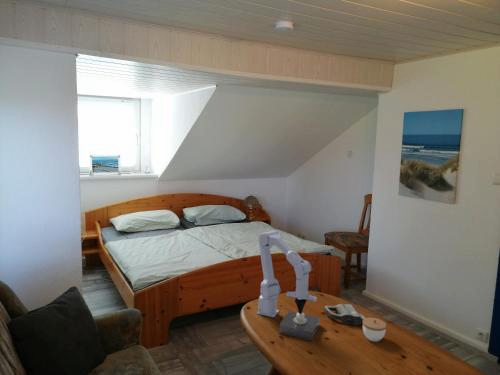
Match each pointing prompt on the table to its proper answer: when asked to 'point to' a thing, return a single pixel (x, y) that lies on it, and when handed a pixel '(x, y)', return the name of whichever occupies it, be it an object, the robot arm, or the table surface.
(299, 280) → the robot arm
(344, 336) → the table surface
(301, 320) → the flanged cylindrical plug
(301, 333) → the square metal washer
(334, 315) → the portable electronic device
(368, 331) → the lidded jar
